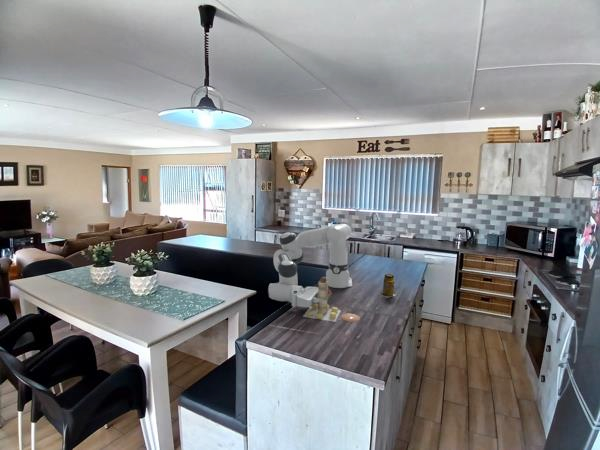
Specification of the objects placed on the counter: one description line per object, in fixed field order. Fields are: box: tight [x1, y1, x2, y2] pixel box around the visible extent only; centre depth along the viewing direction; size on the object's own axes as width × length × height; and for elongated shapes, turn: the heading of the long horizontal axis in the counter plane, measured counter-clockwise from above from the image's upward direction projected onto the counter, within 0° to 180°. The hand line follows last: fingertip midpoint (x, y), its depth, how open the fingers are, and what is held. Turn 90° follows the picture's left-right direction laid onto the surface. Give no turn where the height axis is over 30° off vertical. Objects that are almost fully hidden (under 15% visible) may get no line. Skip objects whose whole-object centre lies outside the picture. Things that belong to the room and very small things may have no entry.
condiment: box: [377, 273, 397, 299], centre depth 185 cm, size 7×8×12 cm
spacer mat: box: [302, 303, 341, 323], centre depth 156 cm, size 14×16×3 cm
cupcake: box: [327, 287, 332, 301], centre depth 174 cm, size 9×8×12 cm
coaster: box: [340, 312, 361, 323], centre depth 152 cm, size 9×9×1 cm
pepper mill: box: [317, 276, 329, 315], centre depth 155 cm, size 5×5×19 cm
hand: (324, 298), depth 155 cm, fingers closed on pepper mill, 5 cm apart
